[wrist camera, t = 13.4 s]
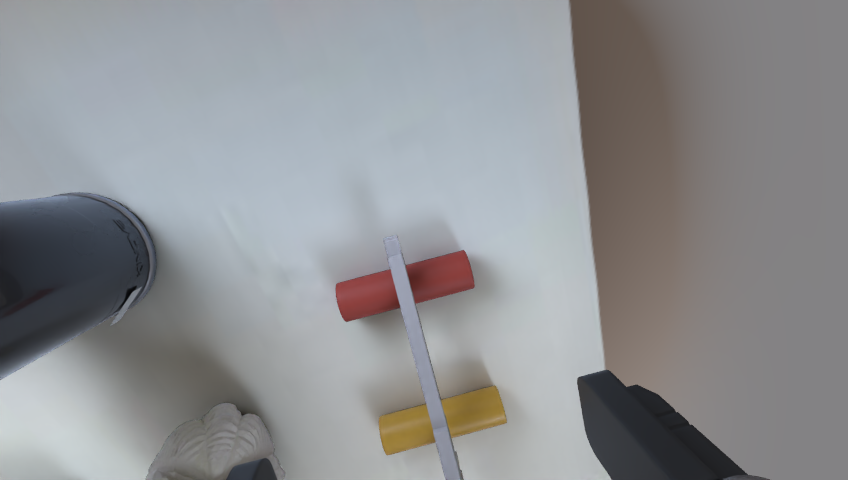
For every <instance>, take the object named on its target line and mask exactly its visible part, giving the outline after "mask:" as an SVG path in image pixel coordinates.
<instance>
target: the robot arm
mask: <svg viewBox="0 0 848 480" xmlns="http://www.w3.org/2000/svg"><path fill="white" fill-rule="evenodd" d="M155 273H156V253H155V249H154V245H153V242H152V240H151V238H150V235H149V234H148V232H147V230H146V229H145V227H144V226H143V224H142V223H141V222H140V221H139V220H138V218H137V217H136V216H134V215H133V214H132V213H131V212H130V211H129V210H128V209H126V208H125V207H123V206H122V205H120V204H118V203H117V202H115V201H113V200H110V199H108V198H105V197H103V196H99V195H95V194H90V193H67V194H60V195H55V196H51V197H46V198H37V199H29V200H18V201H10V202H1V203H0V380H1V379H3V378H5V377H7V376H8V375H10V374H12V373H14V372H15V371H17V370H19V369H21V368H22V367H24V366H26V365H28V364H29V363H31V362H33V361H35V360H37V359H38V358H40V357H42V356H44V355H45V354H47V353H49V352H51V351H52V350H54V349H56V348H58V347H59V346H61V345H63V344H65V343H66V342H68V341H70V340H72V339H74V338H75V337H77V336H79V335H81V334H82V333H84V332H86V331H88V330H90V329H92V328H93V327H95V326H97V325H99V324H100V323H102V322H104V321H106V320H107V319H109V318H111V317H113V316H115V315H117V316H116V318H115V319H114V321H113V322H112V323H111V325H113V324H114V323H116V322H118V321H119V320H120V319H121V318H122V316H123V315H124V313H125V312H126V310H128V309H130V308H131V307H133V306H134V305H136V304H137V303H138V302H139V301H141V300H142V298H143V297H144V296H145V295H146V294H147V292H148V291H149V289H150V287H151V285H152V283H153V281H154V277H155ZM111 325H110V326H111ZM577 384H578V390H579V396H580V402H581V408H582V414H583V420H584V426H585V431H586V435H587V438H588V440H589V443H590V445H591V447H592V450H593V452H594V453H595V455H596V457H597V458H598V460H599V461H600V462H601V464H602V465H603V467H604V468H605V470H606V471H607V473H608V474H609V476H610V477H611V479H612V480H770V479H766V478H762V477H758V476H752V475H748V474H747V473H745V472H744V471H743V470H742V469H741V468H740V467H739V466H738V465H736V464H735V463H734V462H733V461H732V460H731V459H730V458H729V457H728V456H726V455H725V454H724V453H723V452H722V451H721V450H720V449H719V448H717V447H716V446H715V445H714V444H713V443H712V442H711V441H710V440H708V439H707V438H706V437H705V436H704V435H703V434H702V433H701V432H699V431H698V430H697V429H696V428H695V427H694V426H693V425H690V424H689V422H688V421H687V420H686V419H685V418H684V417H683V416H682V415H680V414H679V413H678V412H675V410H674V408H673V407H671V406H670V405H669V404H668V403H667V402H666V401H665V400H664V399H662V398H661V397H660V396H659V395H658V394H656V393H654V392H651V391H649V390H647V389H645V388H643V387H641V386H638V385H633V386H629V387H626V386H625V385H624V384H623V383H622V382H621V381H620V380H619V379H617V377H616V376H615V375H613V374H612V373H611V372H610V371H609V370H604V371H600V372H596V373H592V374H588V375H585V376H581V377H578V380H577ZM226 480H277V477H276V474H275V472H274V469H273V466H272V464H271V462H270V460H269V459H267V458H263V459H259V460H255V461H251V462H247V463H243V464H240V465H236V466H234V467H233V468H232V470H231V471H230V473H229V475H228V477H227V479H226Z"/></svg>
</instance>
